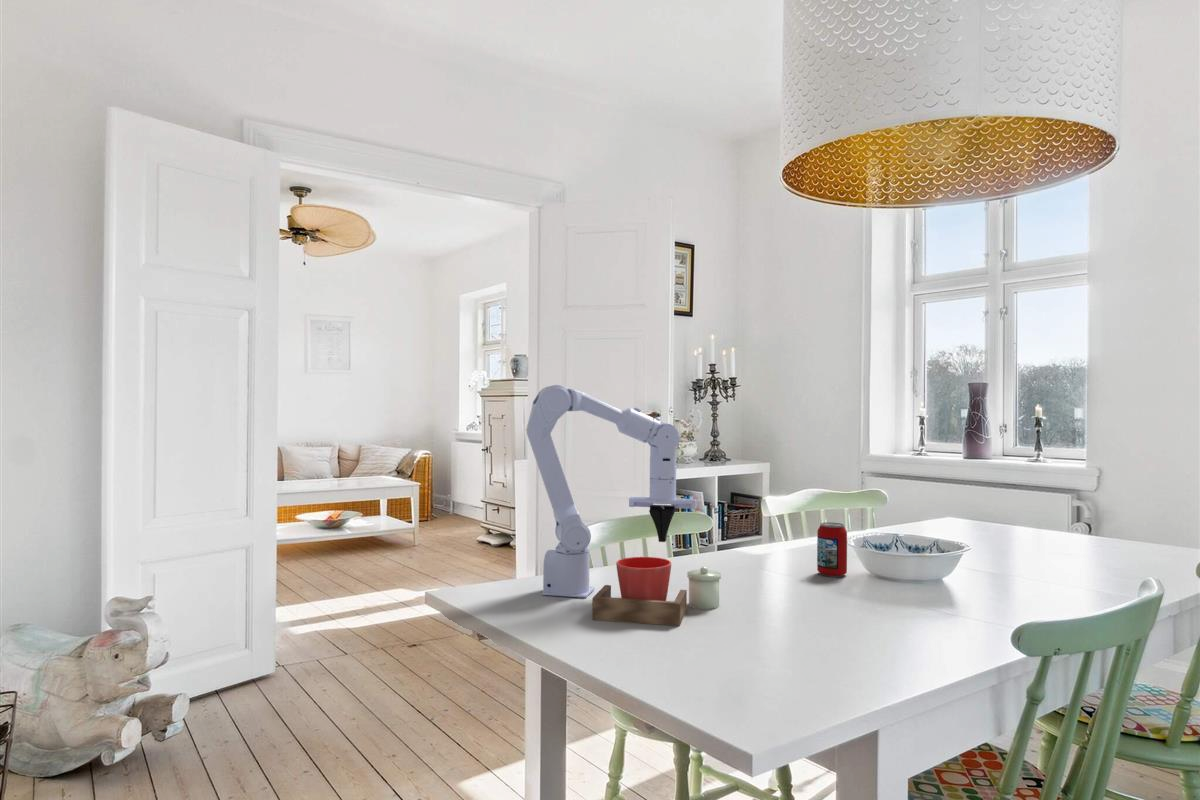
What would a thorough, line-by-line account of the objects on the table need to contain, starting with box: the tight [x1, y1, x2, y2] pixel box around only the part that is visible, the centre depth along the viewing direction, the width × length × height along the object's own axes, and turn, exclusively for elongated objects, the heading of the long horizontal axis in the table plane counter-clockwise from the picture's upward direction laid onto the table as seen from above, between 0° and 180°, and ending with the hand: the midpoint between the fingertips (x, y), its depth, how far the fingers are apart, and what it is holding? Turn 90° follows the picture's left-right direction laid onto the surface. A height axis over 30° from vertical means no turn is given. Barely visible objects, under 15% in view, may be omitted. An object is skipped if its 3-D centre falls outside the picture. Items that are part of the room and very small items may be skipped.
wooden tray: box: [591, 584, 688, 627], centre depth 143 cm, size 16×11×4 cm, turn 77°
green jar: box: [686, 566, 722, 610], centre depth 150 cm, size 7×7×8 cm
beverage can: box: [816, 521, 848, 578], centre depth 179 cm, size 7×7×12 cm
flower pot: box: [615, 556, 672, 601], centre depth 145 cm, size 11×11×10 cm
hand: (662, 541), depth 163 cm, fingers closed
